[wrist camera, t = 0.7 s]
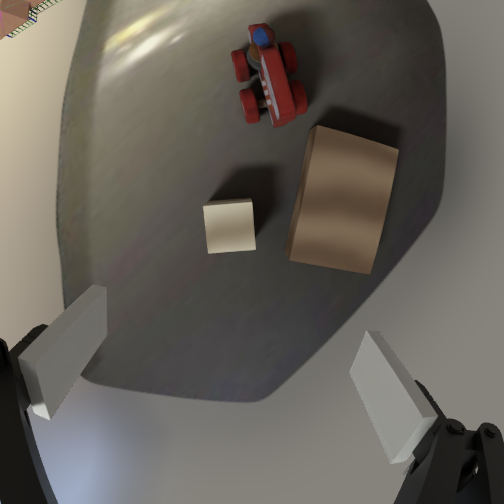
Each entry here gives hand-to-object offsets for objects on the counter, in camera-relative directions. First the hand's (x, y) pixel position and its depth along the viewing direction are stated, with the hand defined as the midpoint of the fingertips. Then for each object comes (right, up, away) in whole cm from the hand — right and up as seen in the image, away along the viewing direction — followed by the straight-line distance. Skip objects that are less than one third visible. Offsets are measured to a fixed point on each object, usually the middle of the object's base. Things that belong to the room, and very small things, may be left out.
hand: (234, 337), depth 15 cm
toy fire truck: (+3, +24, +19) cm, 30 cm away
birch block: (-2, +8, +23) cm, 24 cm away
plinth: (+11, +10, +22) cm, 27 cm away
